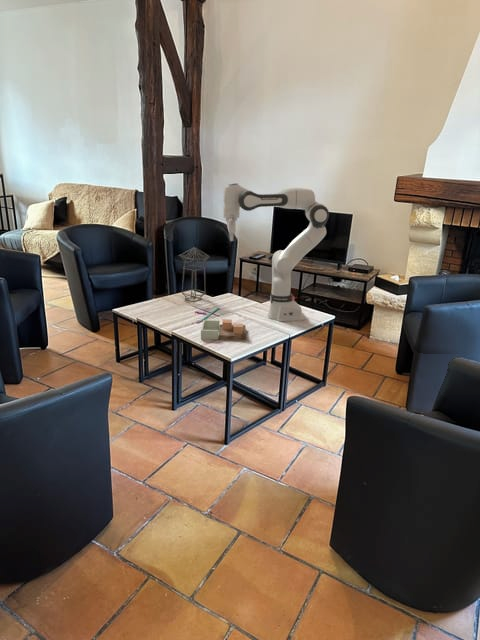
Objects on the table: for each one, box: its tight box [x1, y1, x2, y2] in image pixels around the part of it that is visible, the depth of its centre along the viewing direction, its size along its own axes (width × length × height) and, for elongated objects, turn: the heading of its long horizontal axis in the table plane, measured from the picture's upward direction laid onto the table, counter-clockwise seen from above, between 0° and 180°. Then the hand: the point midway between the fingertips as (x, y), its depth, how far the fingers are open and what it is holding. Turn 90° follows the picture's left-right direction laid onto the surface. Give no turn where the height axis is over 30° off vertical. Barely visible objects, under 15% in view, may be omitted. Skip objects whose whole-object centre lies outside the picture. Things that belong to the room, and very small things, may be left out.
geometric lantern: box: [178, 246, 211, 303], centre depth 288 cm, size 16×16×35 cm
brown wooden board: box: [218, 324, 247, 341], centre depth 236 cm, size 14×16×2 cm
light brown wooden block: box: [221, 318, 233, 330], centre depth 238 cm, size 5×5×4 cm
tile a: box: [233, 322, 244, 334], centre depth 232 cm, size 5×5×4 cm
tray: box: [200, 319, 221, 341], centre depth 236 cm, size 9×16×5 cm, turn 0°
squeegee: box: [194, 307, 220, 324], centre depth 265 cm, size 29×2×10 cm
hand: (231, 239), depth 248 cm, fingers open, 8 cm apart
